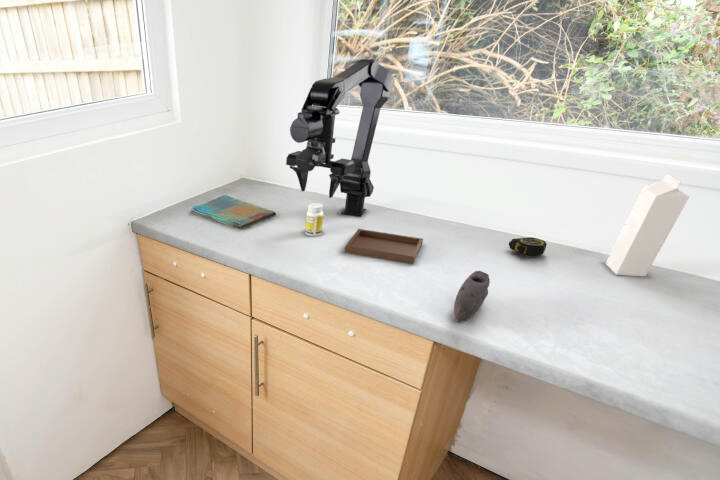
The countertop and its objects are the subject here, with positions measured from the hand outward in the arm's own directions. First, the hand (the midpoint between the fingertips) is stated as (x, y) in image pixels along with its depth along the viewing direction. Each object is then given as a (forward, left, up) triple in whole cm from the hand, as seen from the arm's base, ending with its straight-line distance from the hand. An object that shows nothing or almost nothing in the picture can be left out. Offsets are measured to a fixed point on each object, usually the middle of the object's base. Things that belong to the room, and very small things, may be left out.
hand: (316, 194), depth 133 cm
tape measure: (-9, +54, -12) cm, 56 cm away
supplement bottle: (0, 0, -12) cm, 12 cm away
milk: (-8, +75, -12) cm, 76 cm away
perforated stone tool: (+28, +44, -12) cm, 54 cm away
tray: (+3, +21, -12) cm, 24 cm away
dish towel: (-4, -29, -12) cm, 32 cm away
